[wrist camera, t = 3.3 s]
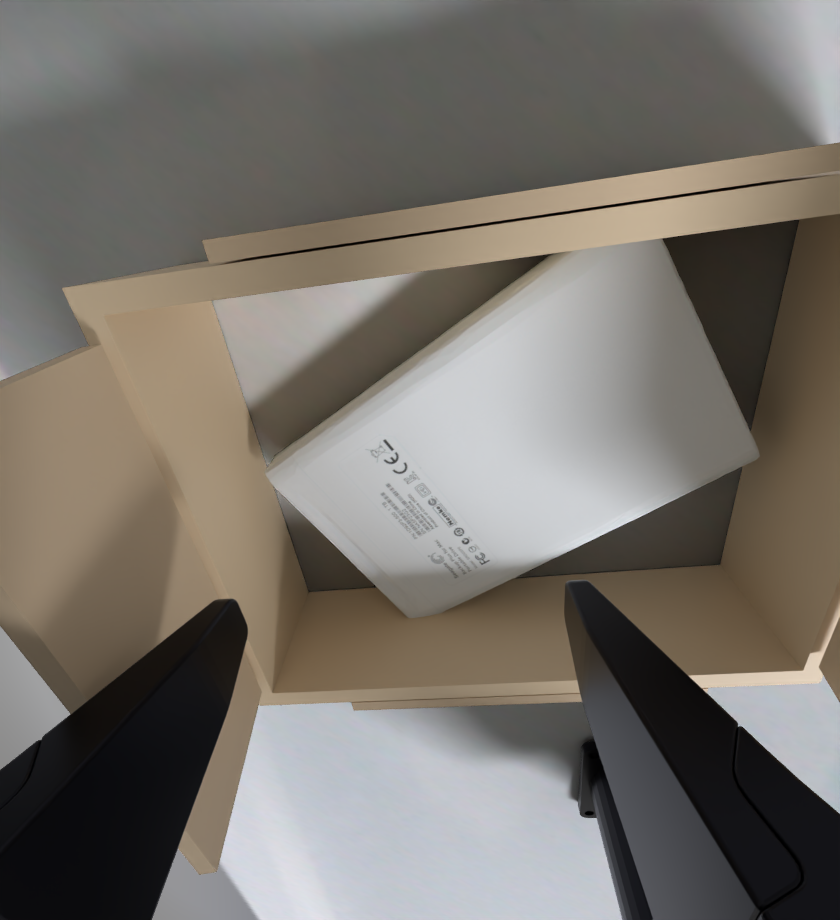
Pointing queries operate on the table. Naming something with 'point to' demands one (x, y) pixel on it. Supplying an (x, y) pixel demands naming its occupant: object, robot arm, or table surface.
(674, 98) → the table surface
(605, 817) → the robot arm
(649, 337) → the external hard drive
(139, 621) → the flap
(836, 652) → the flap
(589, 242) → the carton
